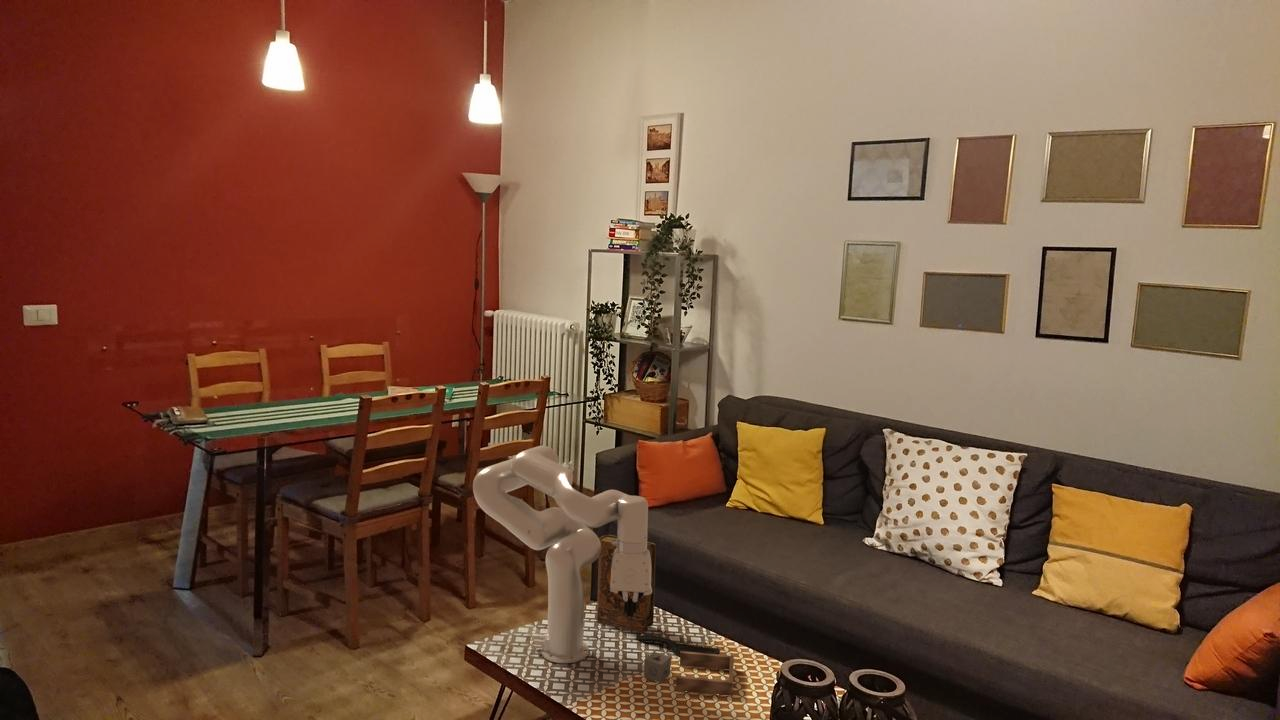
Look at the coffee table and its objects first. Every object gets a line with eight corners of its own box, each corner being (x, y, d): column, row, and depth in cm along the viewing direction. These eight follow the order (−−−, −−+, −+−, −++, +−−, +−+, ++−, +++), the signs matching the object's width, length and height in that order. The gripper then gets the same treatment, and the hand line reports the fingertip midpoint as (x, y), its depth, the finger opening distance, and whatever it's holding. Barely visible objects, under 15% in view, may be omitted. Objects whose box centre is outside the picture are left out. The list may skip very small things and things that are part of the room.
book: (594, 622, 242) (596, 539, 239) (602, 615, 247) (605, 534, 244) (645, 634, 235) (648, 549, 232) (653, 626, 240) (656, 543, 237)
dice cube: (643, 678, 211) (644, 659, 211) (653, 669, 216) (653, 651, 215) (661, 683, 209) (661, 664, 208) (670, 675, 213) (670, 656, 213)
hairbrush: (643, 624, 236) (724, 642, 224) (643, 636, 237) (724, 655, 225) (629, 635, 229) (712, 655, 217) (629, 648, 229) (712, 668, 217)
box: (675, 690, 206) (676, 677, 205) (679, 663, 219) (680, 651, 219) (732, 696, 204) (733, 683, 203) (733, 668, 218) (733, 655, 217)
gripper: (600, 548, 207) (599, 618, 209) (660, 552, 205) (658, 623, 207) (605, 538, 214) (604, 606, 216) (663, 542, 212) (661, 610, 215)
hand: (630, 614), depth 212 cm, fingers closed
